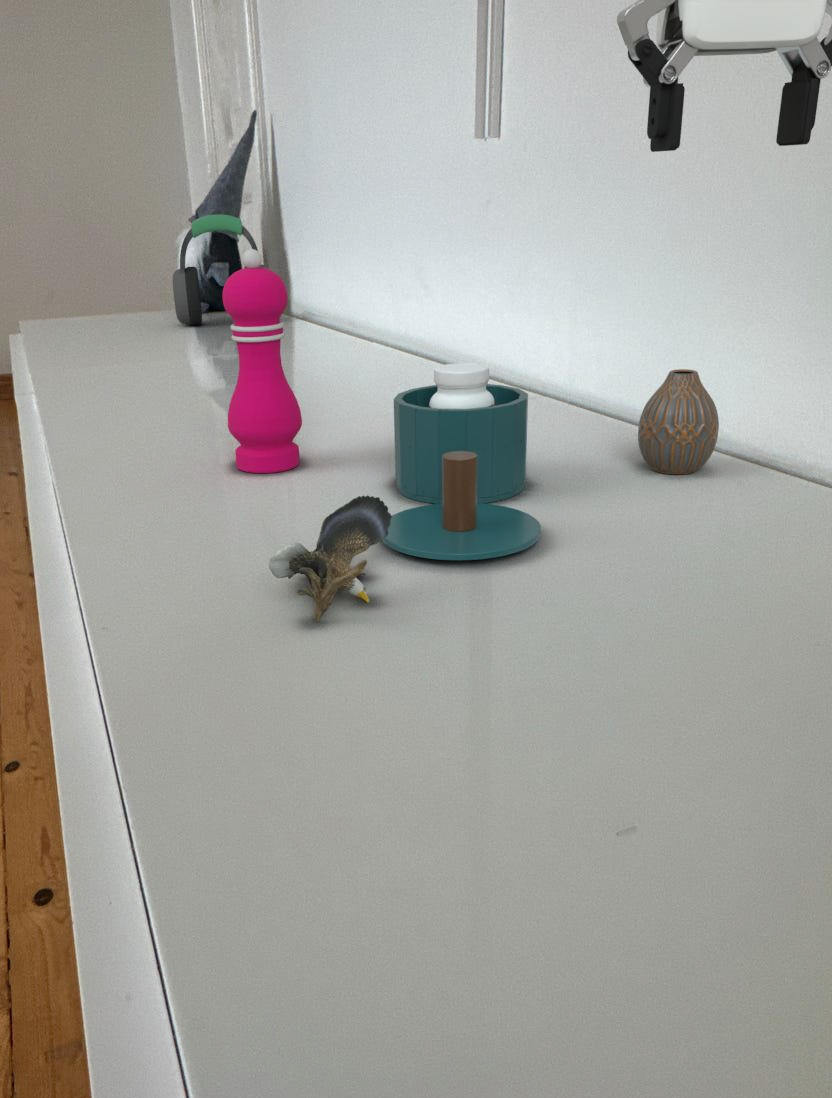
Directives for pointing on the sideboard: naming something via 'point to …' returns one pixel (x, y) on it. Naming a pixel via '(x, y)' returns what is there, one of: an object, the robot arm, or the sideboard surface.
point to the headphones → (188, 277)
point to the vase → (678, 425)
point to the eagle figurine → (336, 552)
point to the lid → (461, 520)
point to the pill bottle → (461, 386)
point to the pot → (461, 443)
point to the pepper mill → (260, 371)
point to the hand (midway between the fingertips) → (728, 147)
